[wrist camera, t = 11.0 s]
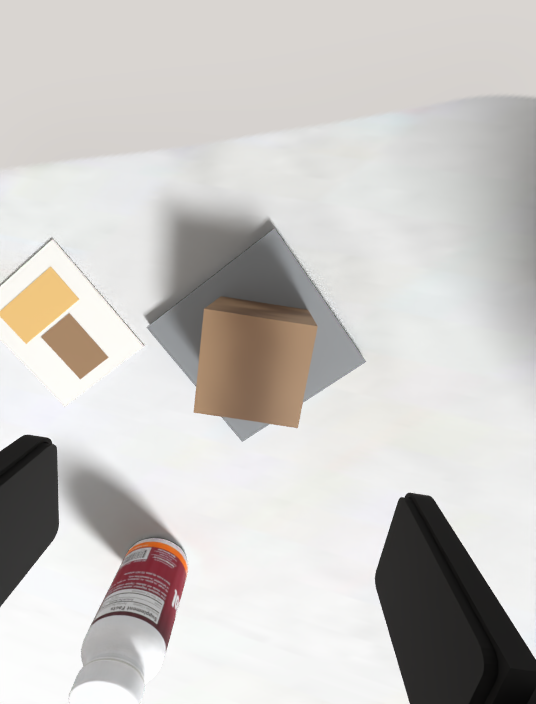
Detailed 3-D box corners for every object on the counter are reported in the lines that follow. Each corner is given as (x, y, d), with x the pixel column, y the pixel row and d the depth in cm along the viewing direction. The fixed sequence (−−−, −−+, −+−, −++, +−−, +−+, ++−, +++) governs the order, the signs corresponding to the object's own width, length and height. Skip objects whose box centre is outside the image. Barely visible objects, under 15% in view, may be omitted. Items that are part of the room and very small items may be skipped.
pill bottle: (176, 592, 34) (130, 746, 23) (118, 570, 33) (44, 717, 23) (200, 549, 32) (162, 693, 22) (140, 525, 32) (71, 660, 21)
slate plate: (363, 358, 27) (366, 361, 26) (243, 436, 29) (242, 441, 28) (274, 228, 24) (274, 227, 23) (150, 325, 26) (146, 327, 25)
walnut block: (308, 309, 25) (317, 326, 19) (293, 390, 27) (297, 427, 21) (220, 296, 25) (203, 308, 19) (211, 378, 26) (193, 412, 21)
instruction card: (144, 346, 27) (143, 346, 26) (65, 406, 28) (64, 407, 28) (53, 239, 25) (51, 239, 24) (-26, 310, 26) (-29, 311, 26)
